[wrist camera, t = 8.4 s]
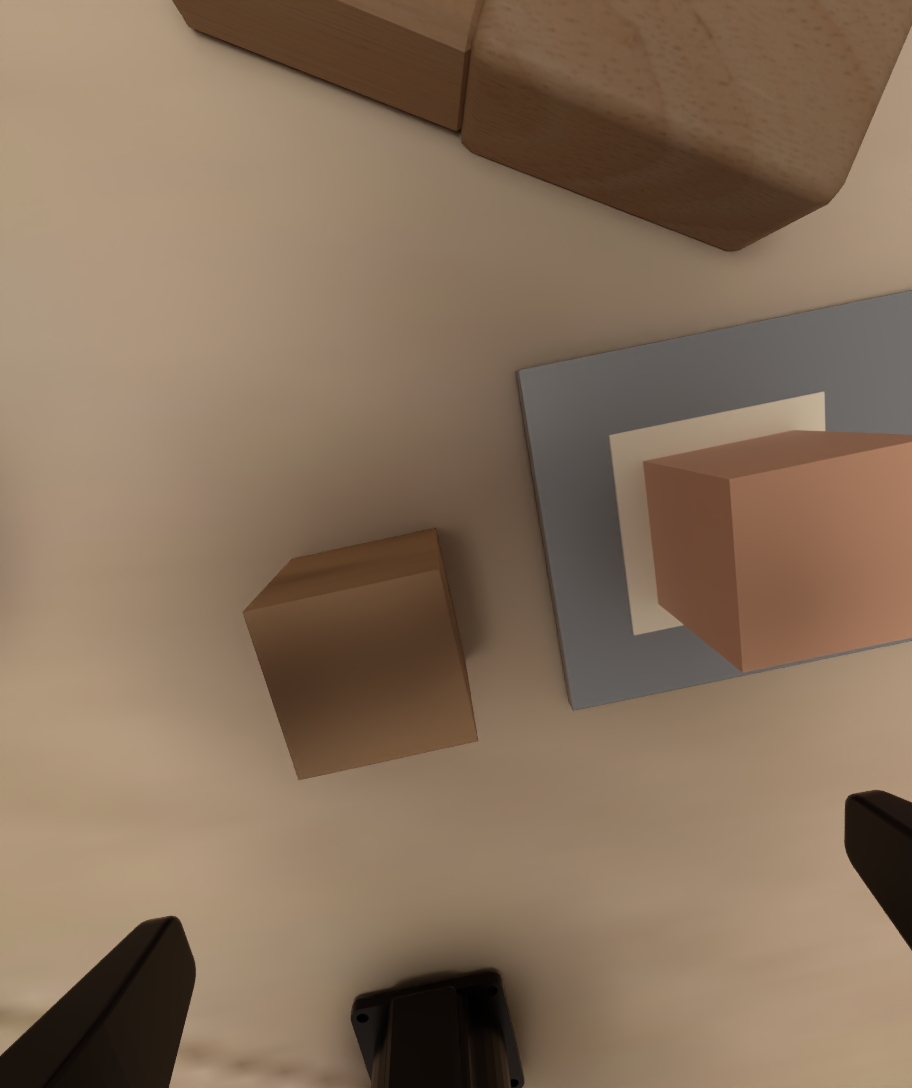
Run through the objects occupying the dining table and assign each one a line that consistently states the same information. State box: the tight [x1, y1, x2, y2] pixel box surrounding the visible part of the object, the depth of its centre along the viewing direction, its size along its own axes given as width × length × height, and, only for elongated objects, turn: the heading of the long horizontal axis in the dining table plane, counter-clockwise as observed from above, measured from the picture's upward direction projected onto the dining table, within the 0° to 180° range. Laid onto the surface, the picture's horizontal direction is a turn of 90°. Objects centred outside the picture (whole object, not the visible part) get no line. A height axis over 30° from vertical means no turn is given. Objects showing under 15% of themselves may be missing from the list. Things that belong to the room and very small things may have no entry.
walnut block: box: [243, 528, 478, 780], centre depth 16 cm, size 5×5×5 cm
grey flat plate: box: [516, 290, 912, 711], centre depth 18 cm, size 12×16×1 cm
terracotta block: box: [643, 430, 912, 673], centre depth 15 cm, size 5×5×5 cm
